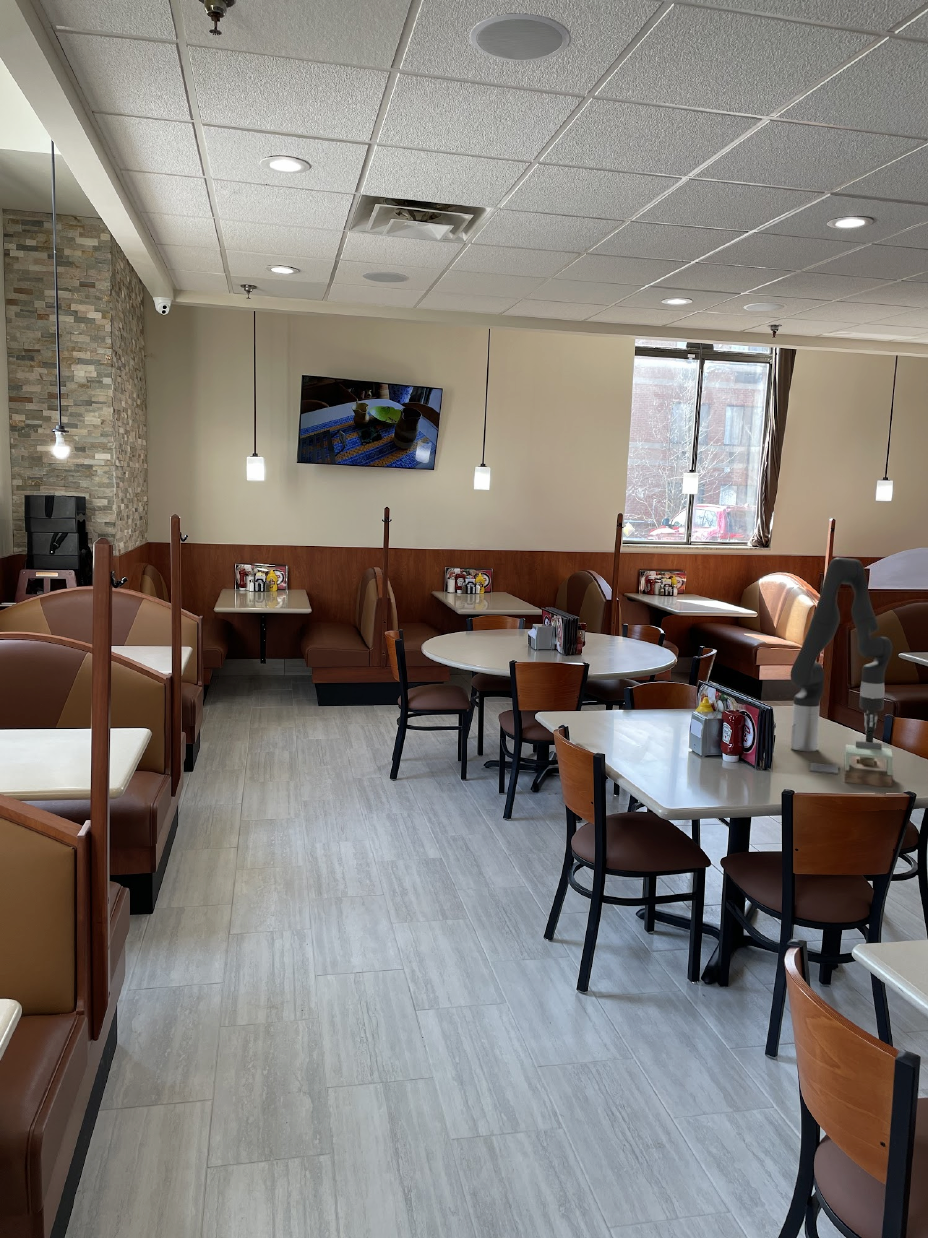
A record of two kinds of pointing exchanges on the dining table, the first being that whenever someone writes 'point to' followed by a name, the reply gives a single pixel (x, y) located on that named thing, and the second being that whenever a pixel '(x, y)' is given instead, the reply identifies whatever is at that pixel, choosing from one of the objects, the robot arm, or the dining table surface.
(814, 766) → the rubber mat
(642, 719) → the dining table surface
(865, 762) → the birch block
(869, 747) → the pale green toy table
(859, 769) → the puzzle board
